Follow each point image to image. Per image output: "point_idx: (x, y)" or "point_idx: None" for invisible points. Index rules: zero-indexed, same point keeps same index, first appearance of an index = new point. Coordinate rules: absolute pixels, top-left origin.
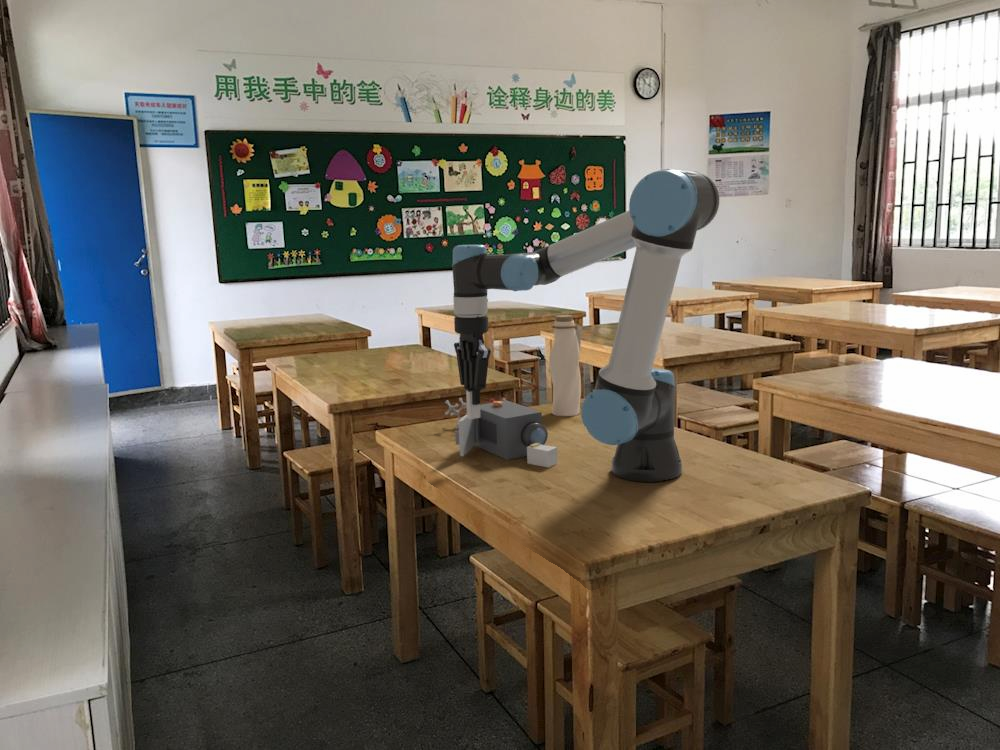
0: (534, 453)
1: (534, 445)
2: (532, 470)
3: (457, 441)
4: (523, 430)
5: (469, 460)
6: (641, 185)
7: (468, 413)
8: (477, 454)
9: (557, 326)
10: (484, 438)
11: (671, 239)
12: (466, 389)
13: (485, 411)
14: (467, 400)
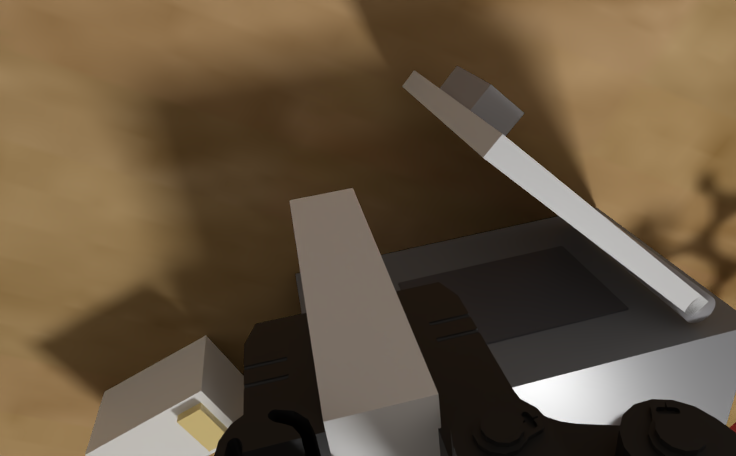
0: (163, 394)
1: (182, 425)
2: (83, 327)
3: (454, 80)
4: None
5: (379, 110)
6: None
7: (326, 217)
8: (452, 179)
9: None
10: (518, 258)
11: None
12: (511, 403)
13: (584, 365)
14: (369, 296)
